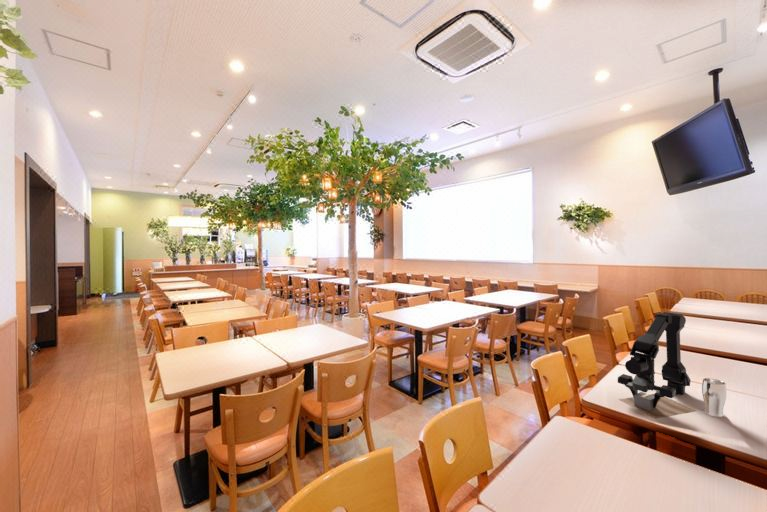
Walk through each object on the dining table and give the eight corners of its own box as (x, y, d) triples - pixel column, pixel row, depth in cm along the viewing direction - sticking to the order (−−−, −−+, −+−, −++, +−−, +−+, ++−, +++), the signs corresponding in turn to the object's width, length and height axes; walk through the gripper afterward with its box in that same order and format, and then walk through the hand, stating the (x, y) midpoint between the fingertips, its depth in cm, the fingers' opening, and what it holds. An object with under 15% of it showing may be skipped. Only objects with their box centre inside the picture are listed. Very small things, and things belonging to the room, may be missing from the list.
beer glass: (718, 413, 133) (719, 378, 132) (730, 422, 126) (731, 386, 125) (697, 411, 135) (698, 376, 134) (708, 420, 128) (708, 383, 128)
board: (657, 396, 148) (657, 393, 148) (697, 414, 133) (697, 410, 133) (618, 402, 144) (618, 399, 144) (655, 421, 128) (655, 418, 128)
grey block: (649, 410, 133) (649, 399, 133) (634, 404, 138) (634, 394, 138) (656, 407, 136) (656, 396, 135) (641, 401, 141) (641, 391, 140)
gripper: (612, 367, 139) (612, 401, 140) (668, 381, 124) (667, 420, 125) (622, 361, 146) (622, 394, 146) (676, 374, 130) (676, 411, 131)
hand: (645, 404), depth 137 cm, fingers closed on grey block, 6 cm apart
